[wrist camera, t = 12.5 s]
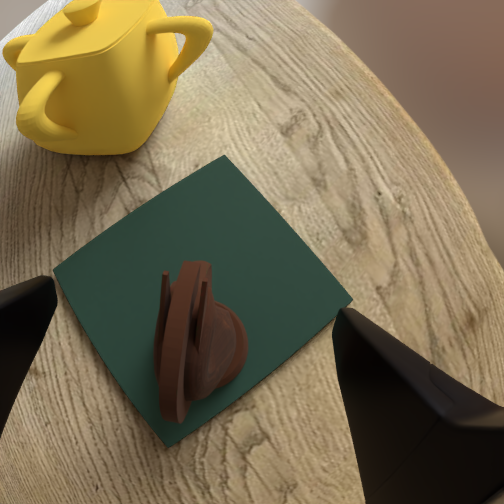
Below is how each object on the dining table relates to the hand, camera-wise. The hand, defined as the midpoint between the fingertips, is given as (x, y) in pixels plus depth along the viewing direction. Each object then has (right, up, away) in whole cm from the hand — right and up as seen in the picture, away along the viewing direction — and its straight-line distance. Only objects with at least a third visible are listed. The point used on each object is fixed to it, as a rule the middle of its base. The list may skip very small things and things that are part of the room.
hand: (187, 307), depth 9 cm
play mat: (-1, 0, +8) cm, 8 cm away
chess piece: (-1, -3, +7) cm, 8 cm away
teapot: (-9, +13, +13) cm, 20 cm away
